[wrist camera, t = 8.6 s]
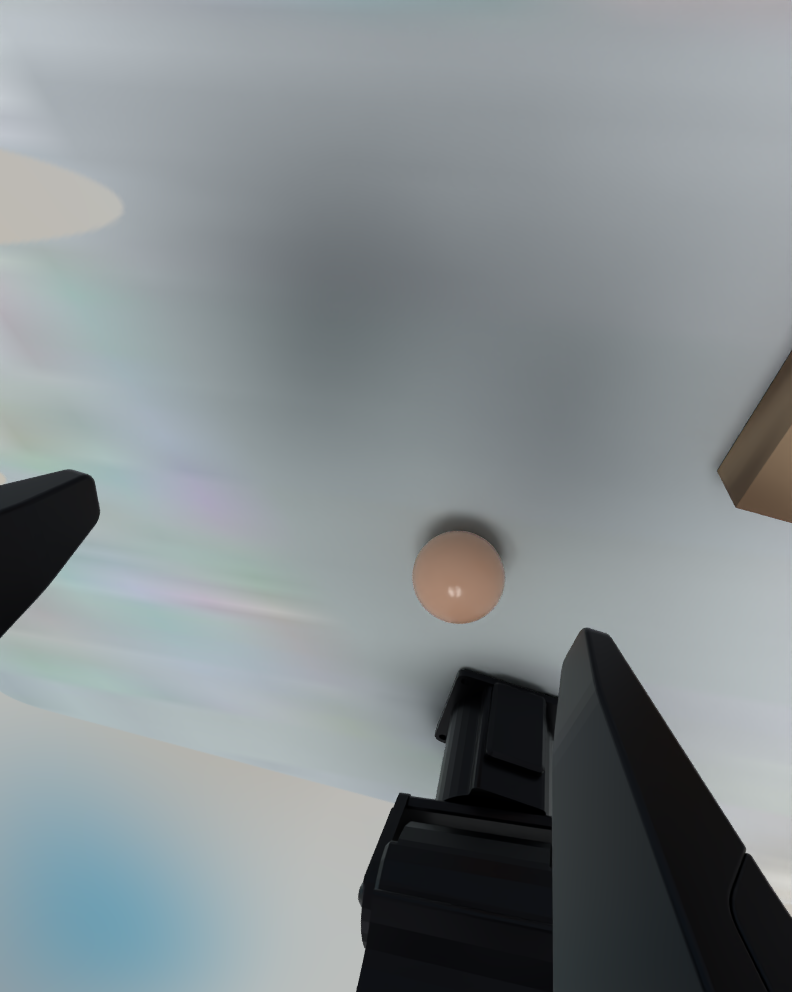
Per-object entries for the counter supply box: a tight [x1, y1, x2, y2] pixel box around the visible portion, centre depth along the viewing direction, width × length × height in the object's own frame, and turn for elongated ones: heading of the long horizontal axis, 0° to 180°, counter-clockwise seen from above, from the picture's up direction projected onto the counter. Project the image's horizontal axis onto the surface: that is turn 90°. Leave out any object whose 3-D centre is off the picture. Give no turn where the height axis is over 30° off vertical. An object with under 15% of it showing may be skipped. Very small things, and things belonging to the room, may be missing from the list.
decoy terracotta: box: [412, 531, 505, 624], centre depth 23 cm, size 4×4×4 cm
